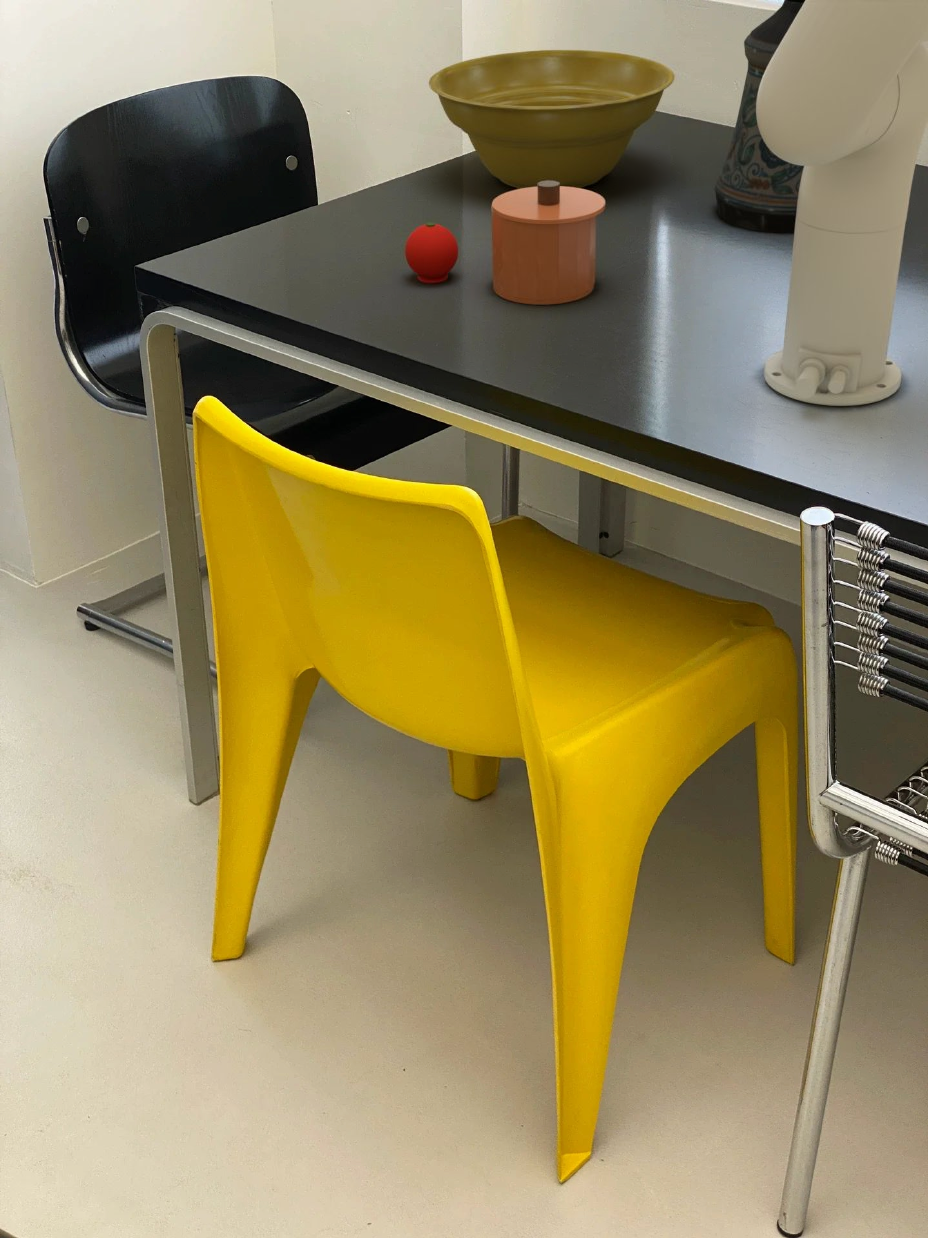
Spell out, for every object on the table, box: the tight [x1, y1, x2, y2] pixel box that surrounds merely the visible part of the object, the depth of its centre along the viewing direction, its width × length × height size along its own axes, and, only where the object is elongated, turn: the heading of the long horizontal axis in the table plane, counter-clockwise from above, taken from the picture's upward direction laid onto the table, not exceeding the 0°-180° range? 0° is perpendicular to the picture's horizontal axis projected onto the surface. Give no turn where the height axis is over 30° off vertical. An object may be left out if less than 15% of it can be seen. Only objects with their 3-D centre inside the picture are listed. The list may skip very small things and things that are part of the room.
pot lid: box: [491, 181, 606, 224], centre depth 153 cm, size 12×12×3 cm
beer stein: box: [714, 0, 805, 234], centre depth 170 cm, size 16×19×25 cm
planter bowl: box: [428, 49, 675, 189], centre depth 190 cm, size 32×32×13 cm
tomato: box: [404, 221, 459, 284], centre depth 160 cm, size 6×6×6 cm
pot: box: [490, 205, 597, 306], centre depth 156 cm, size 11×11×9 cm
